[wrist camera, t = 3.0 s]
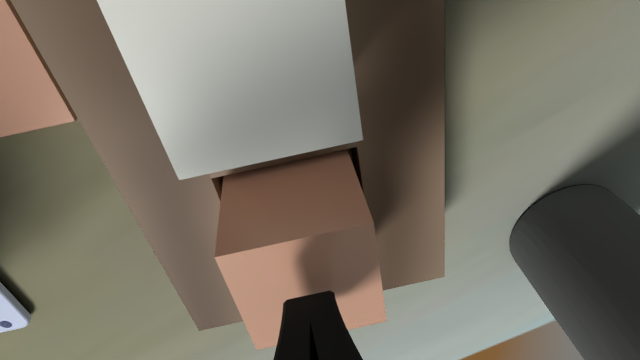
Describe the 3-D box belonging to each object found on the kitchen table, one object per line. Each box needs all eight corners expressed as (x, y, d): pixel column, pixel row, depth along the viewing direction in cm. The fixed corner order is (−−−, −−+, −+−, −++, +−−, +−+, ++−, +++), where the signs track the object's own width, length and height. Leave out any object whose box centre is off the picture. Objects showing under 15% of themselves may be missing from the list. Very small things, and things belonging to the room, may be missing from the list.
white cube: (198, 108, 13) (178, 180, 10) (138, -50, 10) (85, -25, 7) (335, 78, 13) (363, 140, 10) (310, -86, 10) (334, -78, 7)
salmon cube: (256, 262, 17) (256, 349, 14) (223, 175, 14) (214, 257, 11) (361, 239, 17) (386, 320, 14) (346, 148, 14) (373, 222, 11)
